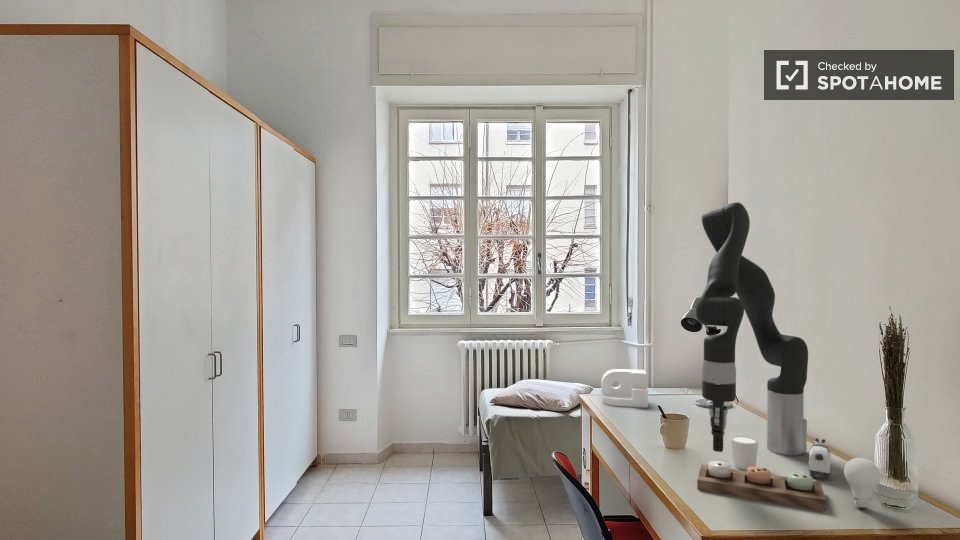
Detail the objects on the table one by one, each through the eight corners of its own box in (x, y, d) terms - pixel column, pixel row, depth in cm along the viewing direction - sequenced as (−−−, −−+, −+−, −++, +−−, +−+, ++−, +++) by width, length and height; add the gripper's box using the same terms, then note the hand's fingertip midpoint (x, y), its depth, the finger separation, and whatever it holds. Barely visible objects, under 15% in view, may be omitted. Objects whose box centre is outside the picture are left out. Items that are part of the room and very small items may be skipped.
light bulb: (836, 502, 127) (836, 453, 126) (864, 501, 127) (864, 452, 127) (858, 515, 120) (859, 464, 120) (887, 514, 120) (888, 463, 120)
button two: (811, 483, 130) (811, 473, 130) (813, 491, 126) (813, 481, 126) (787, 480, 132) (787, 470, 132) (788, 487, 128) (788, 477, 128)
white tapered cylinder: (746, 472, 145) (746, 445, 145) (724, 464, 151) (724, 438, 151) (764, 468, 148) (764, 441, 148) (741, 459, 154) (741, 434, 154)
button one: (731, 471, 138) (731, 462, 138) (730, 478, 133) (730, 468, 133) (709, 468, 140) (709, 458, 140) (707, 475, 135) (707, 465, 135)
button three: (770, 477, 134) (770, 467, 134) (770, 485, 129) (770, 474, 129) (746, 474, 136) (747, 464, 136) (746, 481, 132) (746, 471, 132)
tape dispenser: (643, 402, 218) (643, 369, 217) (647, 409, 207) (648, 375, 207) (601, 400, 220) (601, 368, 220) (603, 407, 209) (603, 374, 209)
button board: (820, 492, 132) (820, 482, 132) (825, 511, 122) (825, 499, 122) (701, 474, 143) (701, 464, 143) (697, 490, 134) (697, 479, 133)
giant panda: (830, 482, 138) (830, 449, 138) (808, 478, 141) (808, 446, 140) (830, 467, 148) (831, 436, 148) (810, 463, 151) (810, 433, 151)
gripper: (704, 373, 144) (703, 440, 144) (699, 382, 132) (698, 456, 132) (737, 376, 141) (736, 445, 141) (734, 386, 129) (733, 461, 129)
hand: (718, 450), depth 136 cm, fingers closed
